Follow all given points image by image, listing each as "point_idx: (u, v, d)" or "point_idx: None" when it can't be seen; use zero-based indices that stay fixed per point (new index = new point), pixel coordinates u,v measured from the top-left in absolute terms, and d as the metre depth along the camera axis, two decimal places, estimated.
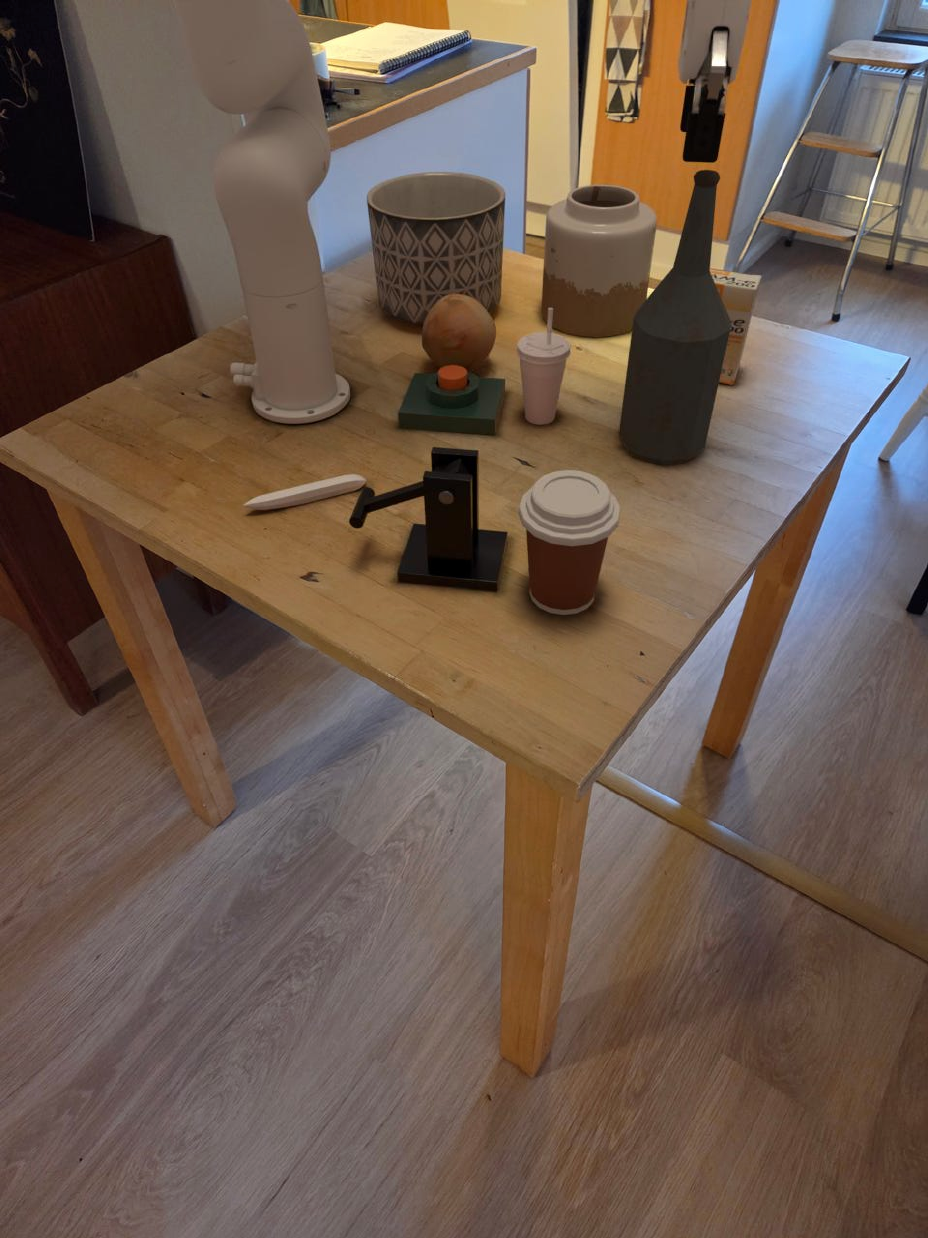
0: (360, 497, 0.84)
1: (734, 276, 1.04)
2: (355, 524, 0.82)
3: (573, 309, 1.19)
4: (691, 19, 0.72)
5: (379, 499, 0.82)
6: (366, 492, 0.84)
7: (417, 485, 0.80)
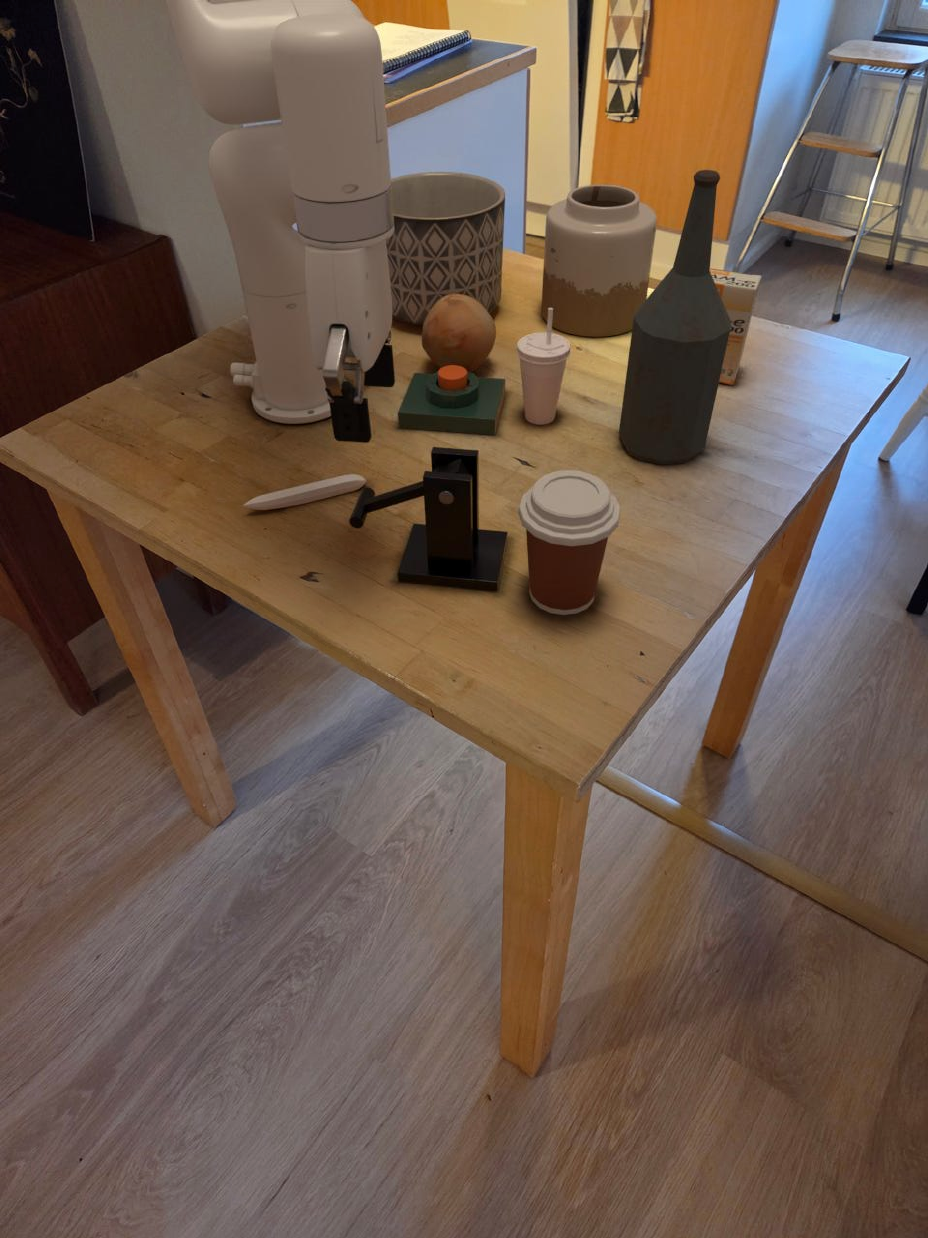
0: (360, 497, 0.84)
1: (733, 276, 1.04)
2: (355, 524, 0.82)
3: (573, 309, 1.19)
4: (308, 314, 0.66)
5: (379, 499, 0.82)
6: (366, 492, 0.84)
7: (417, 485, 0.80)
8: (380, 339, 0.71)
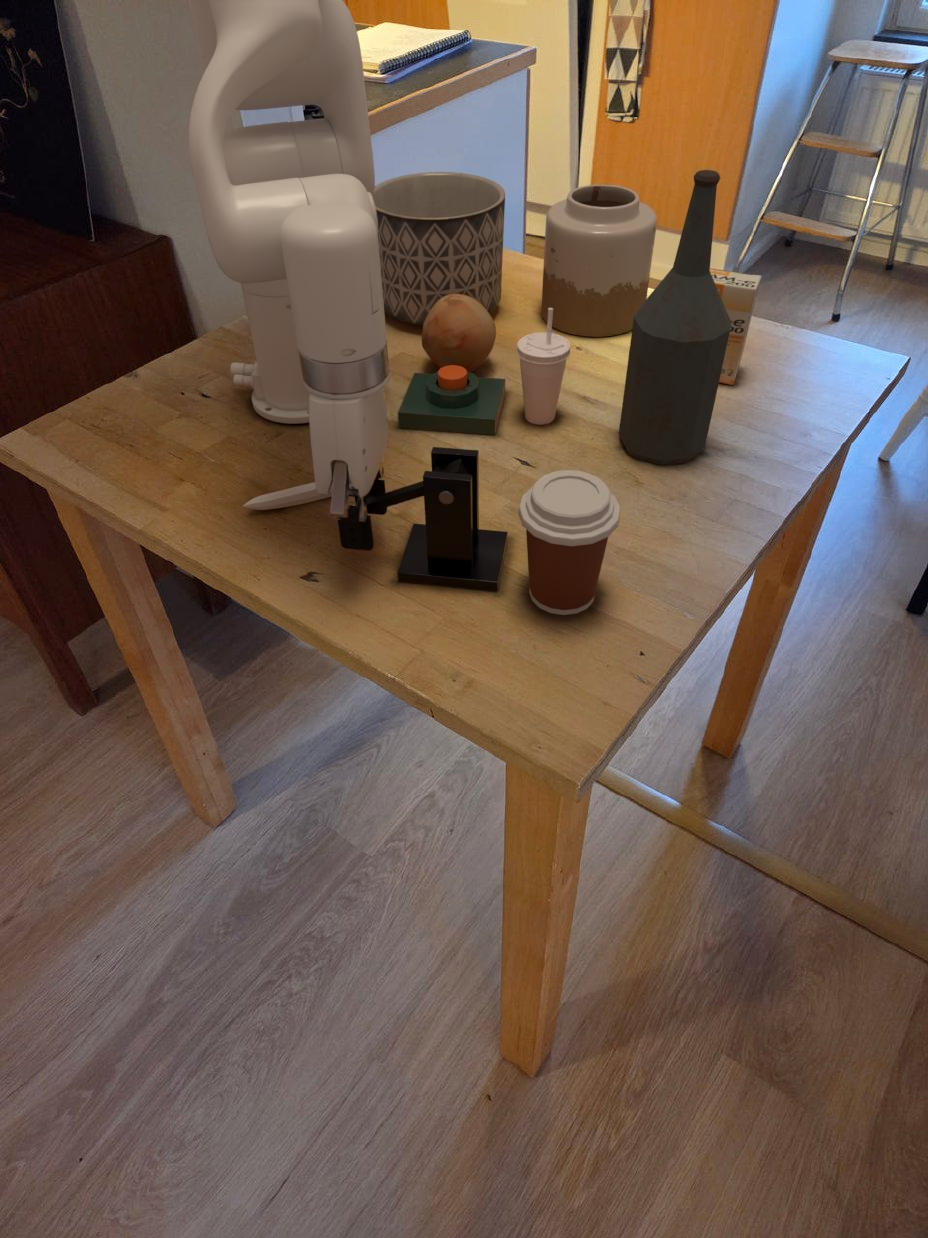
0: None
1: (733, 276, 1.04)
2: None
3: (573, 309, 1.19)
4: None
5: (379, 499, 0.82)
6: None
7: (417, 485, 0.80)
8: (376, 466, 0.79)
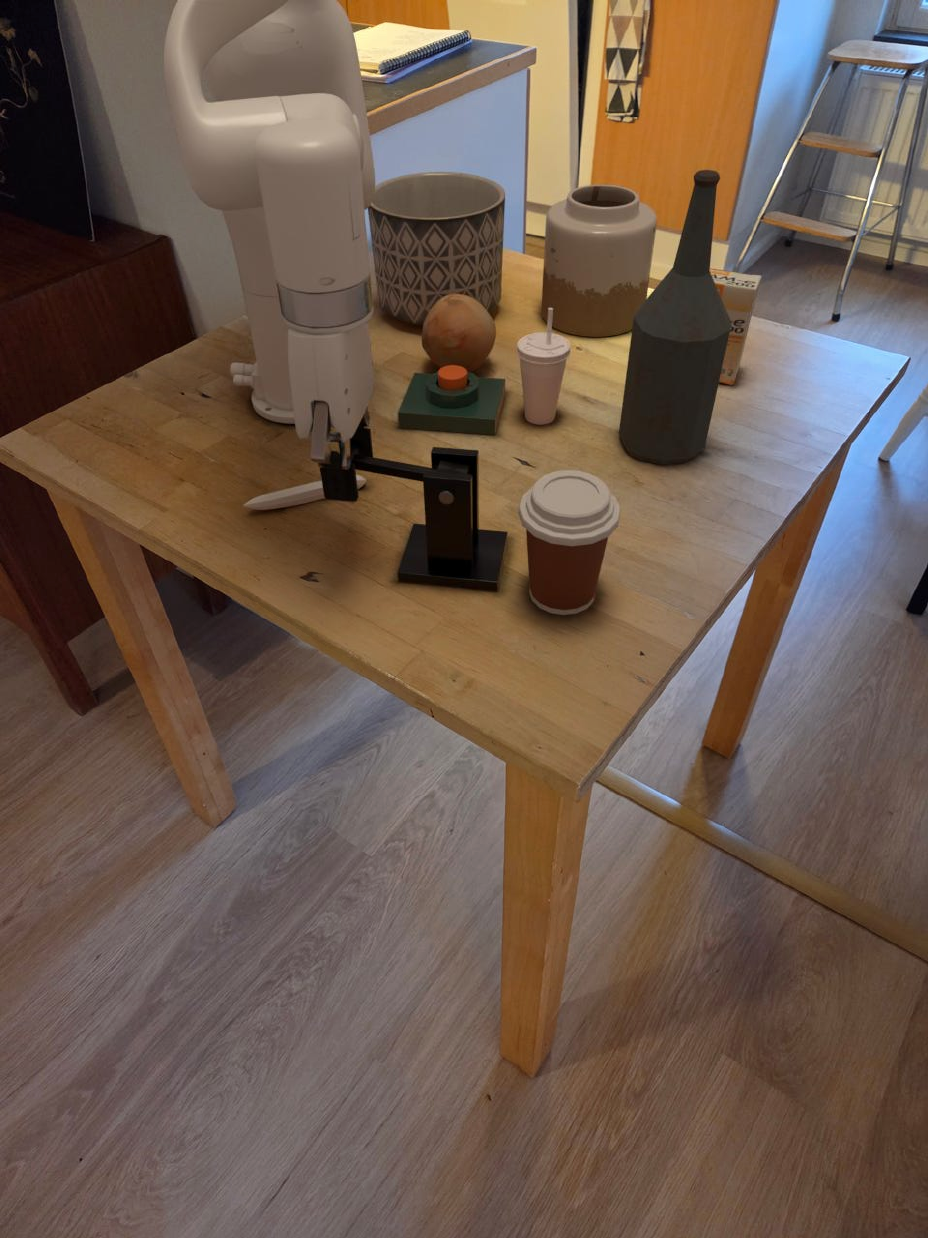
0: None
1: (733, 276, 1.04)
2: None
3: (573, 309, 1.19)
4: (291, 390, 0.70)
5: (371, 462, 0.79)
6: (356, 446, 0.81)
7: (416, 469, 0.79)
8: (360, 410, 0.75)
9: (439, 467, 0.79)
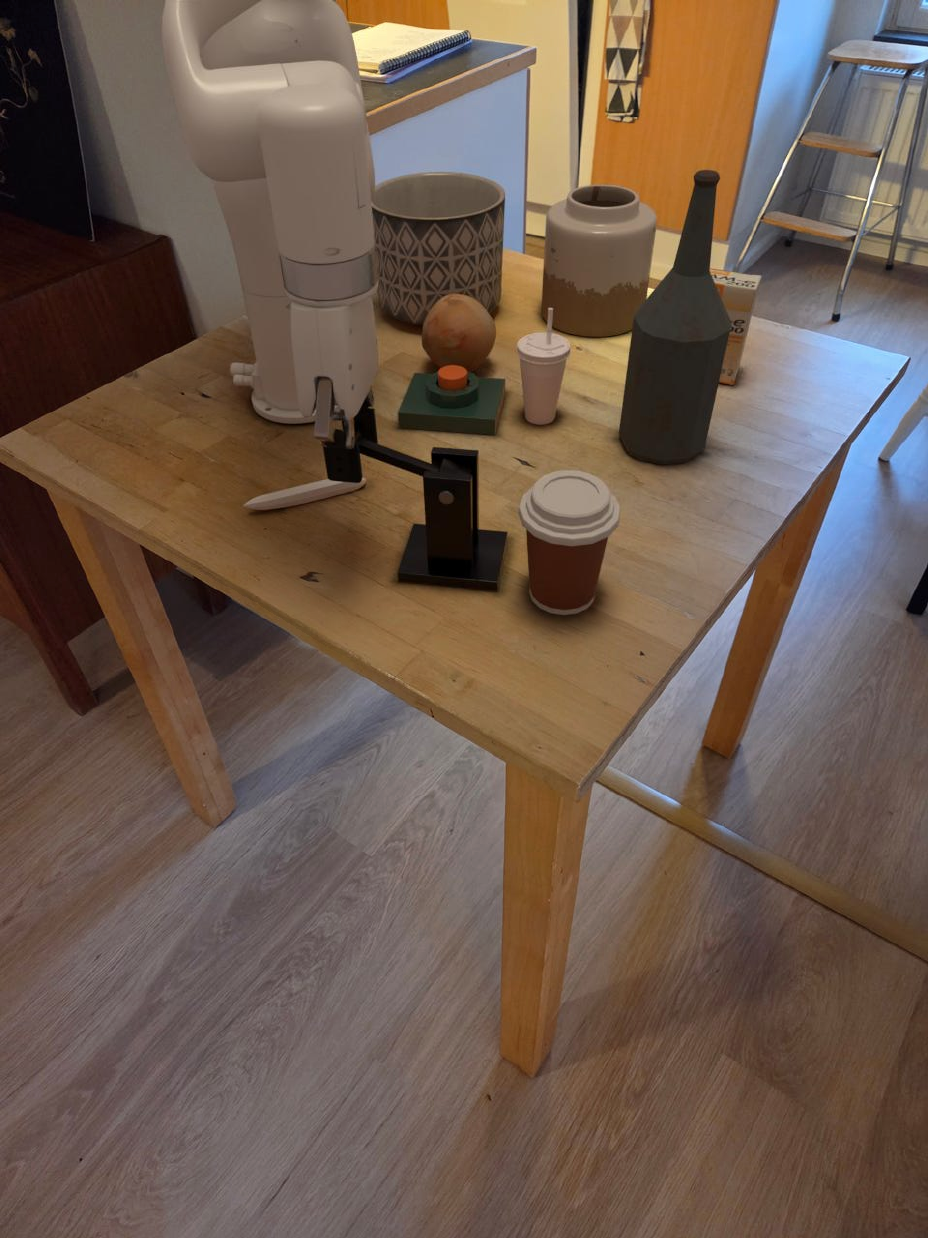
0: None
1: (733, 276, 1.04)
2: None
3: (573, 309, 1.19)
4: (294, 366, 0.69)
5: (374, 448, 0.78)
6: (359, 429, 0.79)
7: (419, 463, 0.79)
8: (365, 387, 0.73)
9: (442, 465, 0.78)
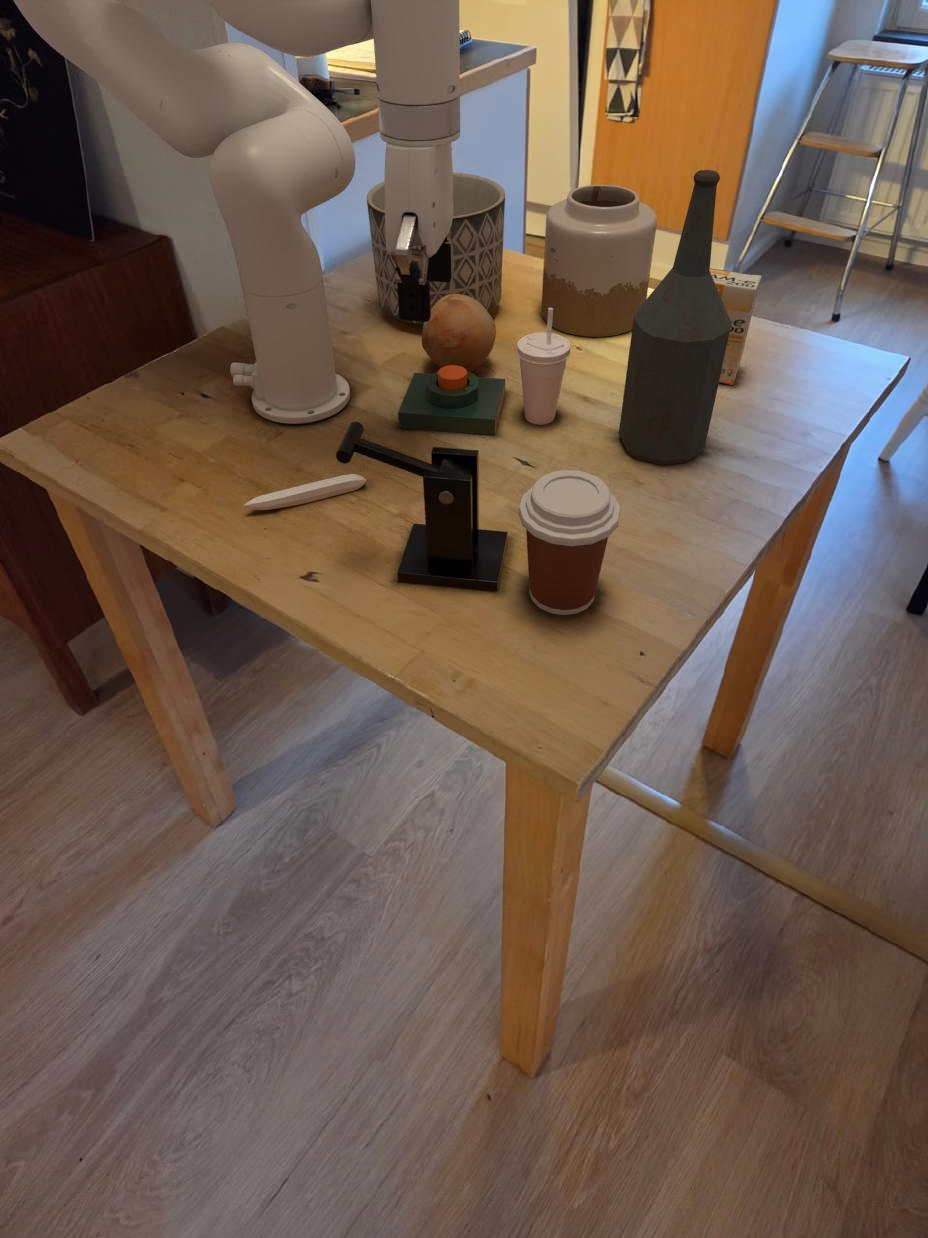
0: (353, 431, 0.78)
1: (733, 276, 1.04)
2: (341, 457, 0.77)
3: (573, 309, 1.19)
4: None
5: (374, 449, 0.78)
6: (359, 429, 0.79)
7: (418, 463, 0.79)
8: (442, 231, 0.84)
9: (442, 465, 0.78)
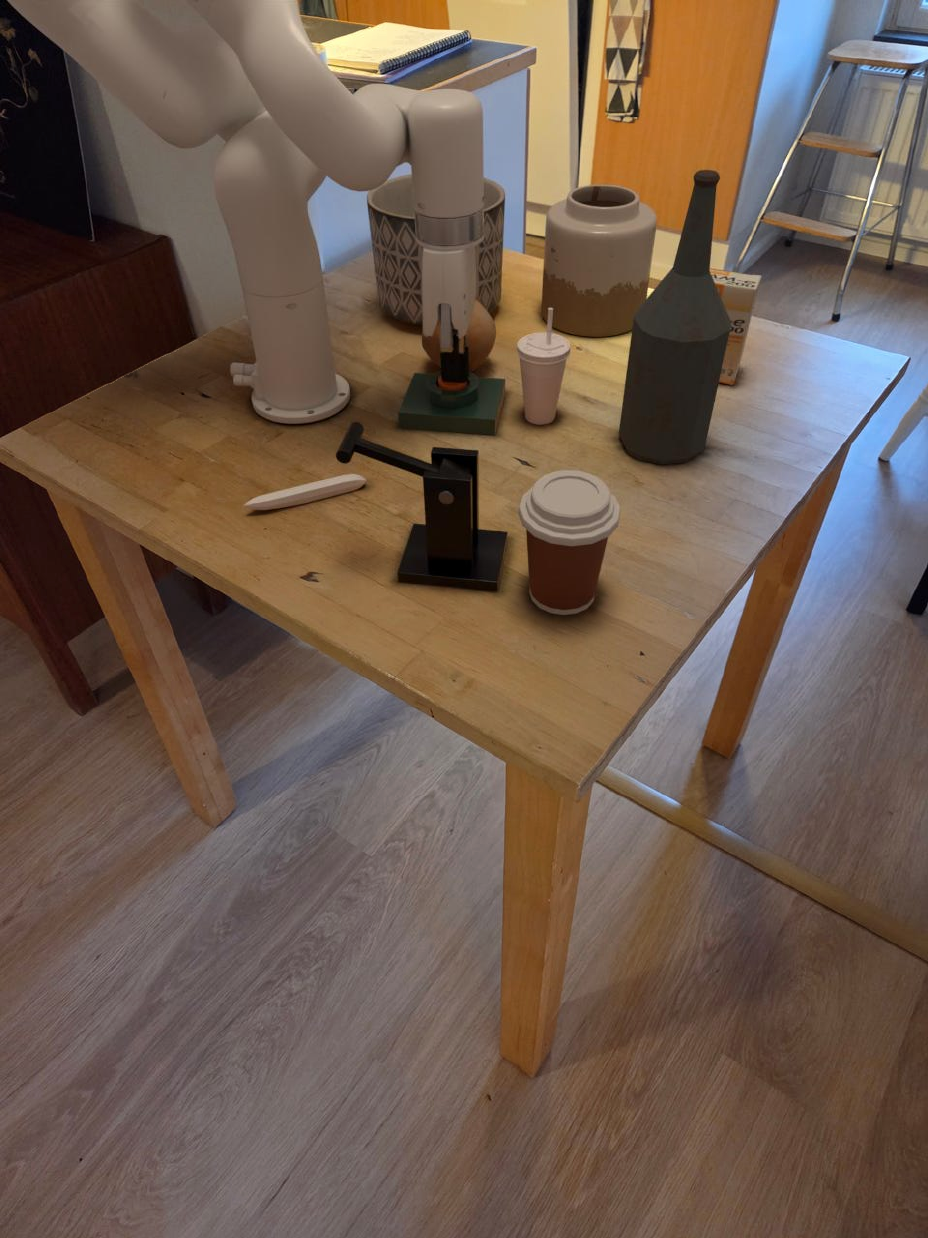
0: (353, 431, 0.78)
1: (733, 276, 1.04)
2: (341, 457, 0.77)
3: (573, 309, 1.19)
4: (422, 297, 0.93)
5: (374, 449, 0.78)
6: (359, 429, 0.79)
7: (418, 463, 0.79)
8: (470, 315, 0.97)
9: (442, 465, 0.78)
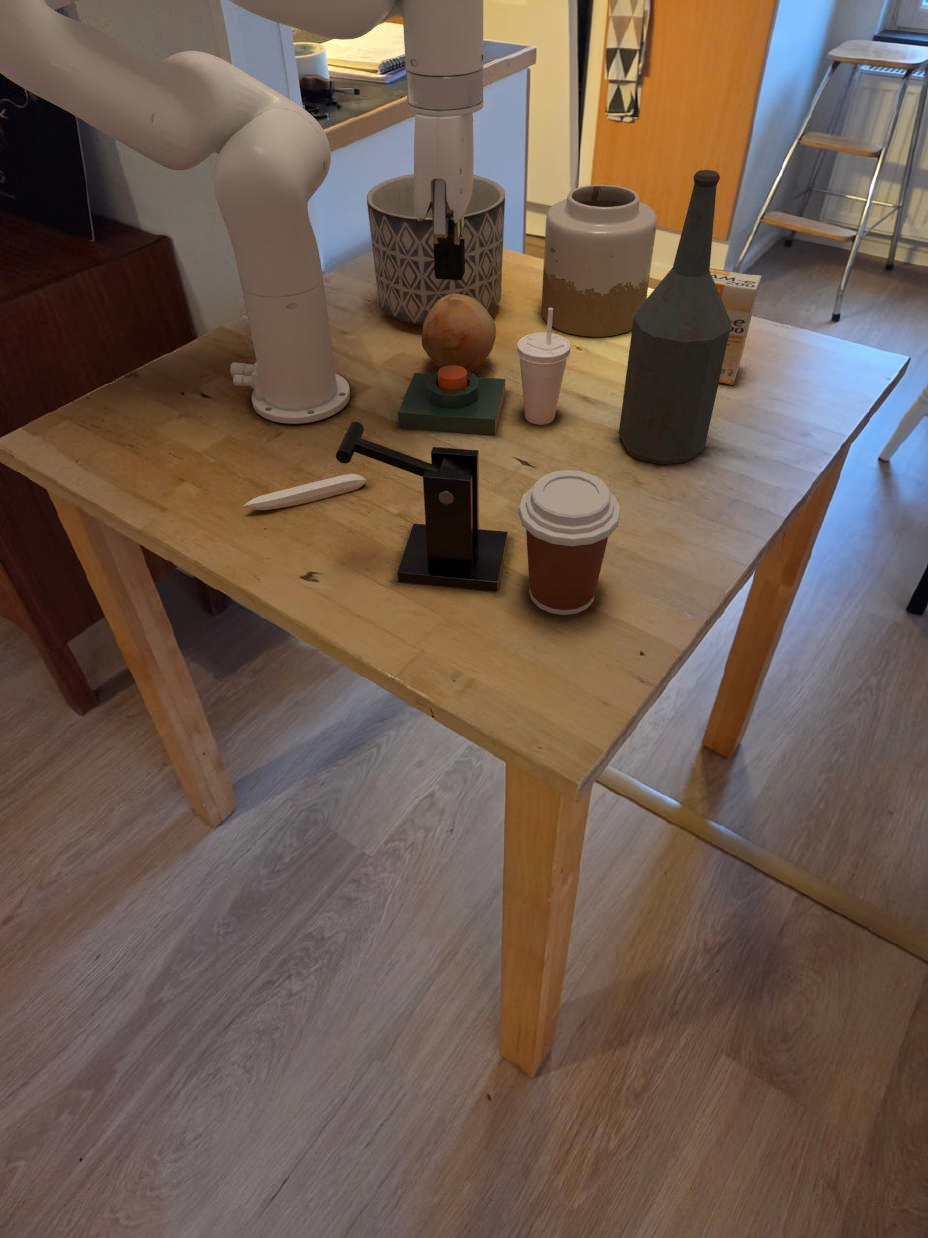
0: (353, 431, 0.78)
1: (733, 276, 1.04)
2: (341, 457, 0.77)
3: (573, 309, 1.19)
4: (414, 172, 0.84)
5: (374, 449, 0.78)
6: (359, 429, 0.79)
7: (418, 463, 0.79)
8: (466, 198, 0.89)
9: (442, 465, 0.78)
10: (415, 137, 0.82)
